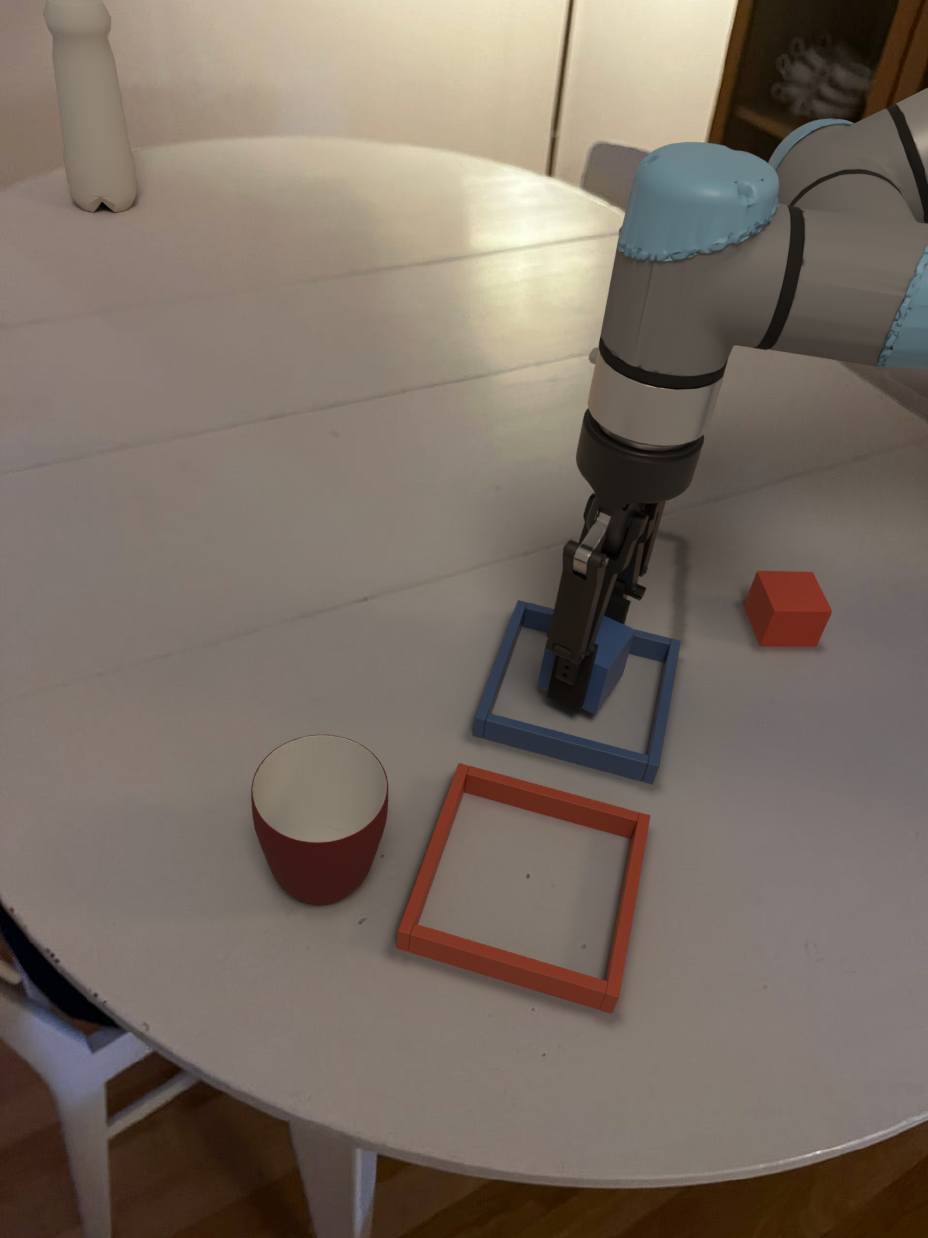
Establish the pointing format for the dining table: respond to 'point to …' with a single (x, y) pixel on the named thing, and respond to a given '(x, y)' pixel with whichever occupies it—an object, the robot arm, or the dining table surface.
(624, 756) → the blue square frame
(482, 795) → the red tray
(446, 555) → the dining table surface
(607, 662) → the blue block
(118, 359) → the dining table surface
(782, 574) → the red block
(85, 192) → the bottle
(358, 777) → the mug
